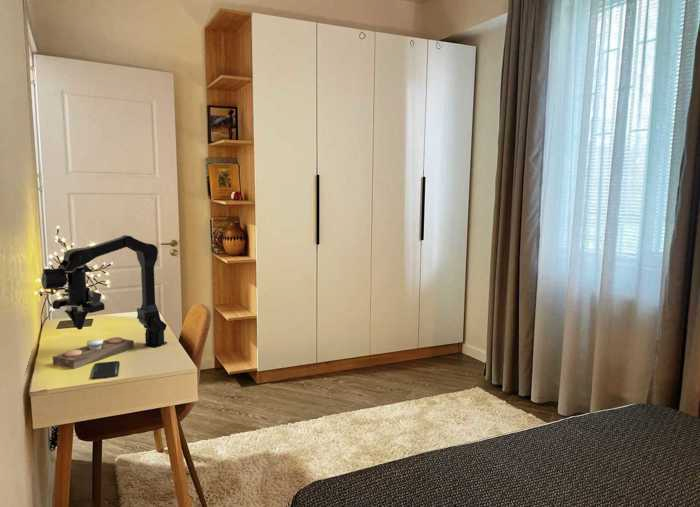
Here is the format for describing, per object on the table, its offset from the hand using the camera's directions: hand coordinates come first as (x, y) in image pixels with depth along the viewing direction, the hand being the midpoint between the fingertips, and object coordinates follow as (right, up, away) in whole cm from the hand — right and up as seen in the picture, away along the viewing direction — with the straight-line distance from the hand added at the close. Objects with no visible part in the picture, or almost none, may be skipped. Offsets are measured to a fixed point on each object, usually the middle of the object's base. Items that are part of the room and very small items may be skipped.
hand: (79, 329), depth 184 cm
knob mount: (+3, -10, +5) cm, 12 cm away
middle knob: (+3, -9, +5) cm, 11 cm away
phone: (+14, -13, -10) cm, 21 cm away
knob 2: (+6, -9, +13) cm, 18 cm away
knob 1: (0, -11, -3) cm, 12 cm away
